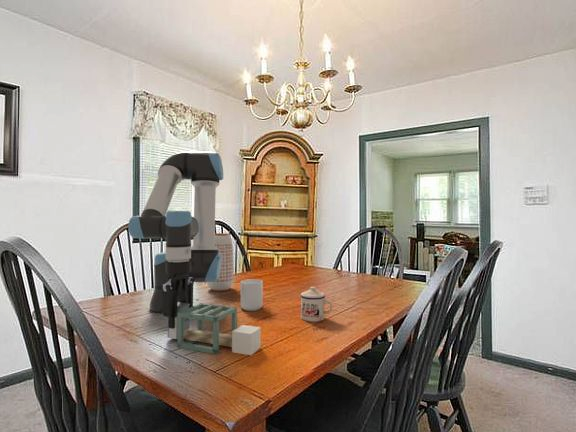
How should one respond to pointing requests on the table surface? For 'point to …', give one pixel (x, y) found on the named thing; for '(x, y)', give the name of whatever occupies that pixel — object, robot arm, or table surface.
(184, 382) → the table surface
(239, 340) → the block
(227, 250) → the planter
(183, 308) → the mallet
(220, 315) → the tube cage
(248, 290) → the mug
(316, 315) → the teacup with lid
